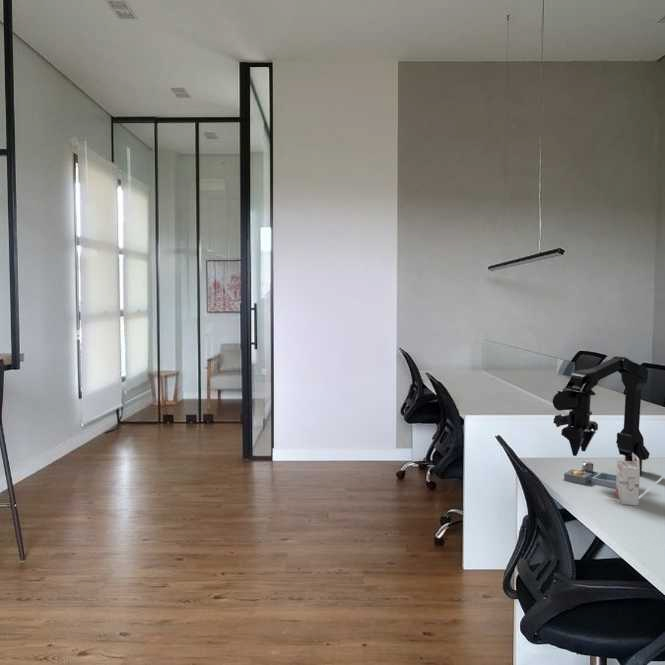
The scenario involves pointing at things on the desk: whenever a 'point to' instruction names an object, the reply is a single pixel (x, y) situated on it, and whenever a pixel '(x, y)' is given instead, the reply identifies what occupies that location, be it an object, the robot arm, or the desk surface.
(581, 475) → the tester button
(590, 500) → the desk surface
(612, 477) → the cup
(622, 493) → the ink cartridge box
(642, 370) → the robot arm
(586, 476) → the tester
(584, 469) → the cylinder
